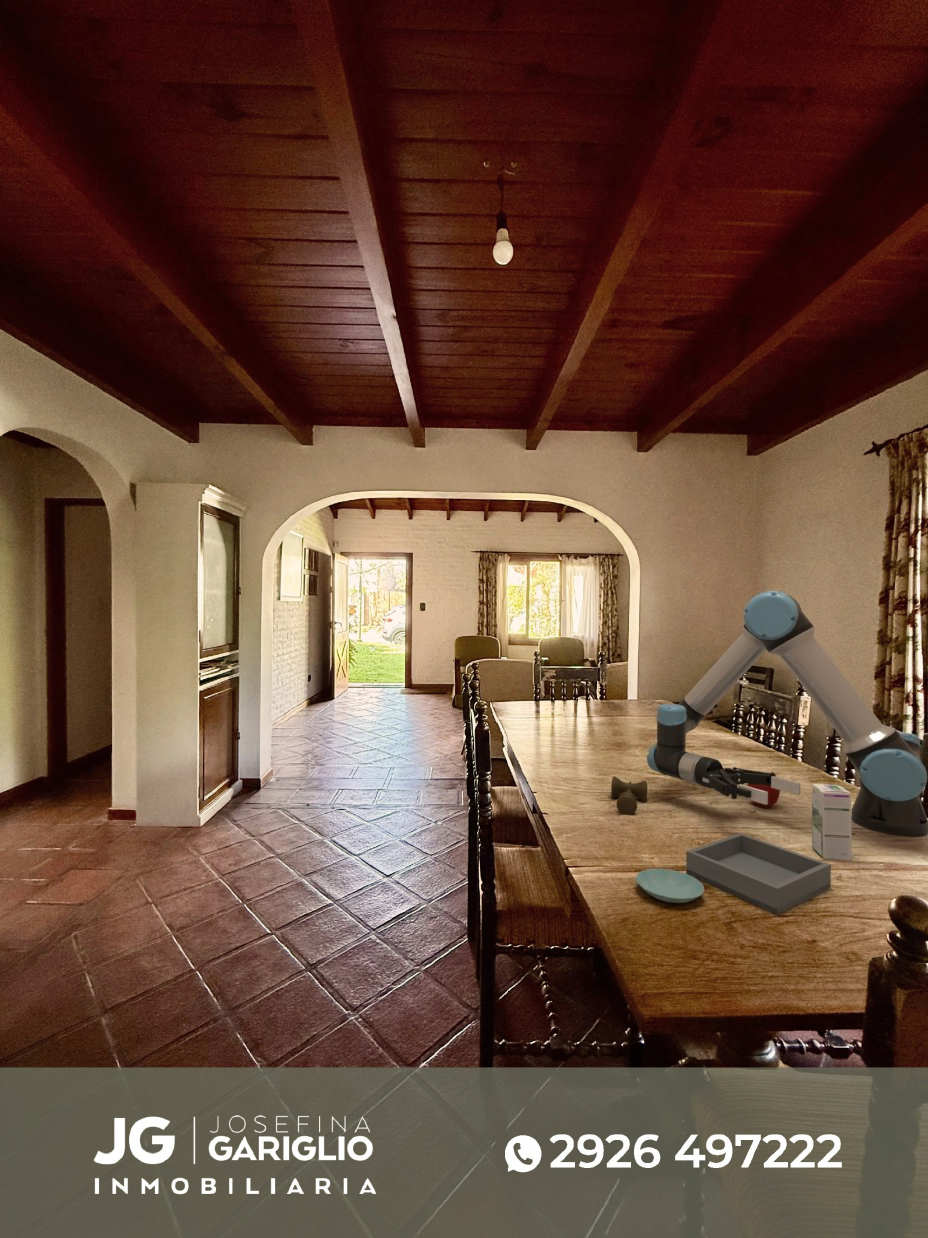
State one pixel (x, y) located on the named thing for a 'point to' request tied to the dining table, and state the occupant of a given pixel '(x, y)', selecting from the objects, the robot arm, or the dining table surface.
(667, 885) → the saucer
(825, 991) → the dining table surface
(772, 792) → the apple
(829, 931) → the dining table surface
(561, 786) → the dining table surface
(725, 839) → the tray
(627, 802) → the kendama
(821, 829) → the syrup box
